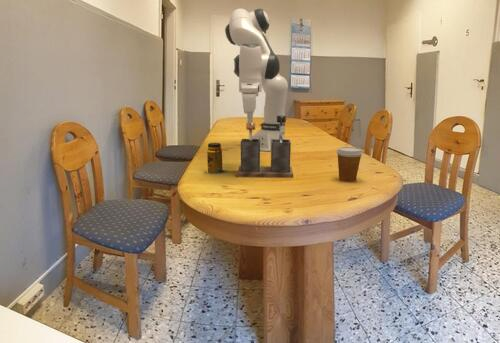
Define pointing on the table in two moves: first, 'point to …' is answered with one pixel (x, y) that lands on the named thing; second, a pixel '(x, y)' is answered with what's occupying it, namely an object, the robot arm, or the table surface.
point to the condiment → (215, 159)
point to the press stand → (278, 159)
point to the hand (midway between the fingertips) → (250, 123)
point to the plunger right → (281, 125)
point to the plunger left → (250, 130)
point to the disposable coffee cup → (348, 163)
